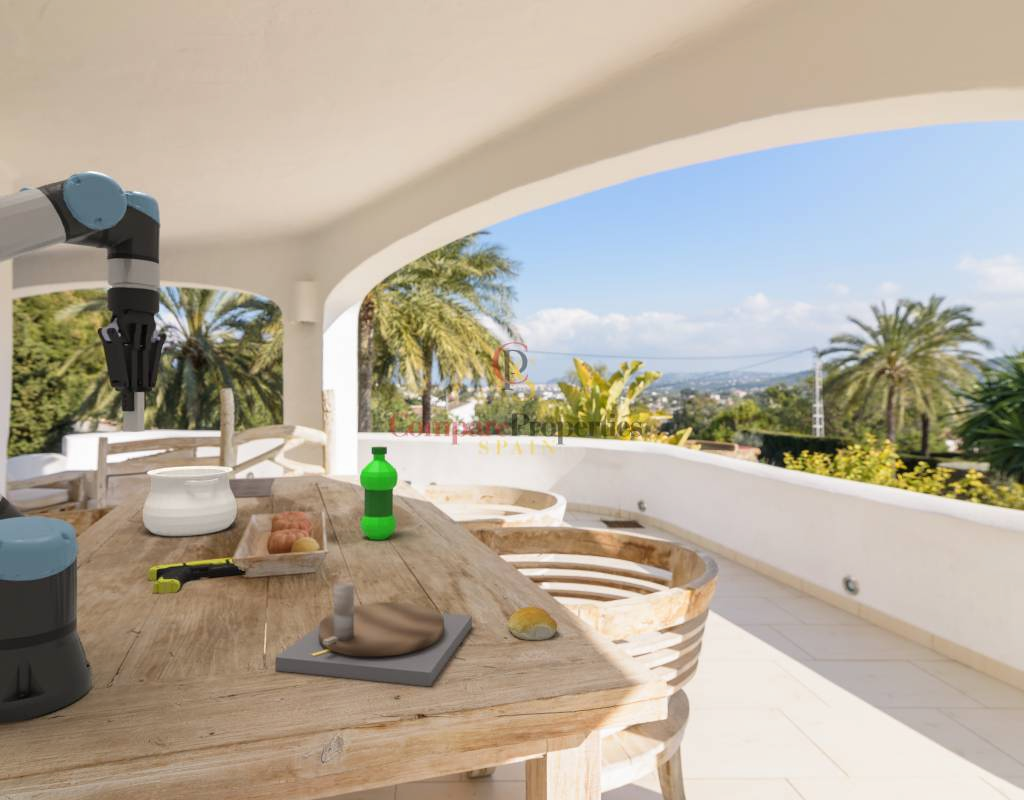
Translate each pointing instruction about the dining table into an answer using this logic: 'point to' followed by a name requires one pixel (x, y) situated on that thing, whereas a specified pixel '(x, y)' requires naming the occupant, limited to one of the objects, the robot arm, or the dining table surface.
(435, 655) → the base
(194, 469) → the pot
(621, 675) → the dining table surface
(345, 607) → the dial
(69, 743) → the dining table surface
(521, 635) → the bread roll
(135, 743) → the dining table surface
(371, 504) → the plastic bottle
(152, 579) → the stun gun
